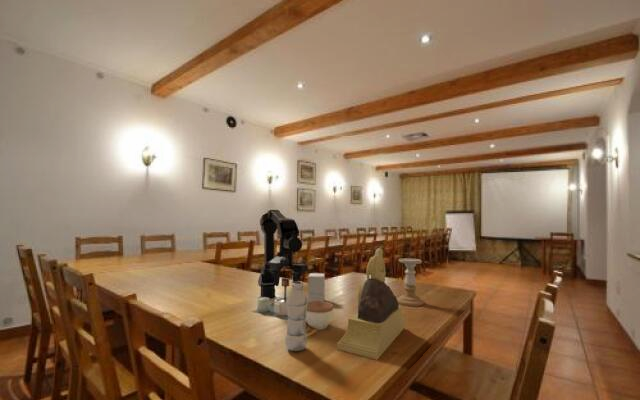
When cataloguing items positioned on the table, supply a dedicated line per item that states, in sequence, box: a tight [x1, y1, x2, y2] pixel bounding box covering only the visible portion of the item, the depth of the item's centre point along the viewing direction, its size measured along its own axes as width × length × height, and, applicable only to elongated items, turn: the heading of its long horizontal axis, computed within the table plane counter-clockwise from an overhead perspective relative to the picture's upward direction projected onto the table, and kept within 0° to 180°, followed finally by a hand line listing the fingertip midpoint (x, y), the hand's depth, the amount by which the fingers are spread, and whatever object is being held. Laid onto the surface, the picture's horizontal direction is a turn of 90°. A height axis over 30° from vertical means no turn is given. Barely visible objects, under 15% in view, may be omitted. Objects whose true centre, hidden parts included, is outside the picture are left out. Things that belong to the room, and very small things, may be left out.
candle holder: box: [396, 257, 425, 307], centre depth 144 cm, size 12×12×20 cm
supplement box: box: [307, 272, 326, 302], centre depth 144 cm, size 7×7×13 cm
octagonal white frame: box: [273, 296, 288, 316], centre depth 125 cm, size 8×10×5 cm
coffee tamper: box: [278, 277, 290, 302], centre depth 126 cm, size 6×6×9 cm
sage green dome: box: [256, 296, 271, 314], centre depth 127 cm, size 5×5×5 cm
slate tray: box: [251, 302, 288, 321], centre depth 127 cm, size 22×16×1 cm
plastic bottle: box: [284, 280, 308, 352], centre depth 93 cm, size 6×7×20 cm
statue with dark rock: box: [336, 247, 405, 360], centre depth 102 cm, size 28×13×30 cm, turn 150°
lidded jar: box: [306, 300, 334, 331], centre depth 112 cm, size 11×11×9 cm
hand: (285, 287), depth 126 cm, fingers open, 8 cm apart
